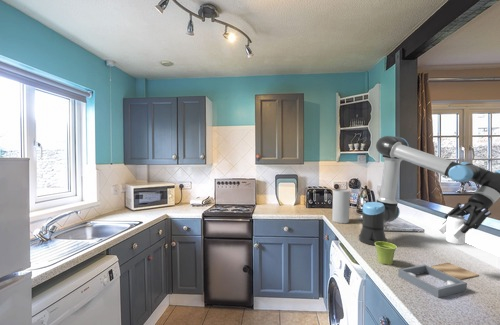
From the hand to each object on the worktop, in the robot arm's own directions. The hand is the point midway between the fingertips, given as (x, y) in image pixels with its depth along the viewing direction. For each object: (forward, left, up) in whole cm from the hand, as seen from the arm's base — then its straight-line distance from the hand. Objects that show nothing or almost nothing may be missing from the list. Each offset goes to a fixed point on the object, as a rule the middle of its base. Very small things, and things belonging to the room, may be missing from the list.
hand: (447, 233), depth 105 cm
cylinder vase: (-81, +8, -17) cm, 83 cm away
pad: (+1, +3, -17) cm, 18 cm away
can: (+1, +3, -4) cm, 6 cm away
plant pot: (-15, -20, -17) cm, 30 cm away
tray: (+5, -18, -17) cm, 25 cm away
